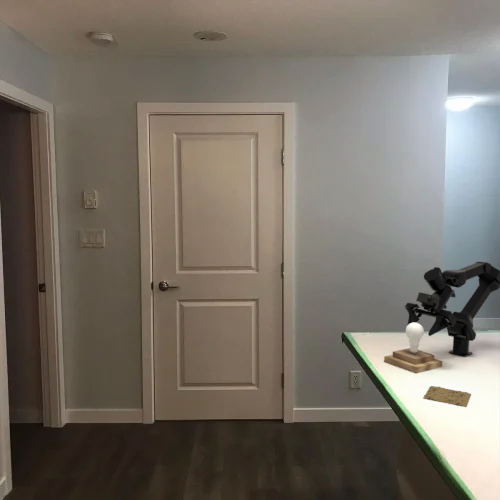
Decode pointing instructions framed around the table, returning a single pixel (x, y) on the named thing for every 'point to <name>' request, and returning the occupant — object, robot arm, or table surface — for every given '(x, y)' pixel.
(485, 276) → the robot arm
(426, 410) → the table surface
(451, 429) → the table surface
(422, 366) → the plinth
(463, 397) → the cookie
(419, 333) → the lightbulb
